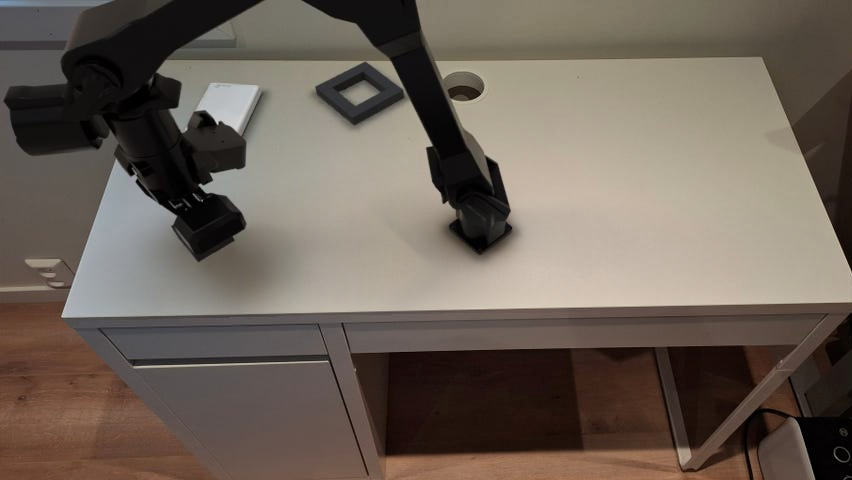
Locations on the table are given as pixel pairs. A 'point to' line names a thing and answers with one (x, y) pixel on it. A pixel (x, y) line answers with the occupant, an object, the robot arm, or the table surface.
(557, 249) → the table surface
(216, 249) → the black block
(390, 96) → the dark grey square frame
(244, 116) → the hard drive
